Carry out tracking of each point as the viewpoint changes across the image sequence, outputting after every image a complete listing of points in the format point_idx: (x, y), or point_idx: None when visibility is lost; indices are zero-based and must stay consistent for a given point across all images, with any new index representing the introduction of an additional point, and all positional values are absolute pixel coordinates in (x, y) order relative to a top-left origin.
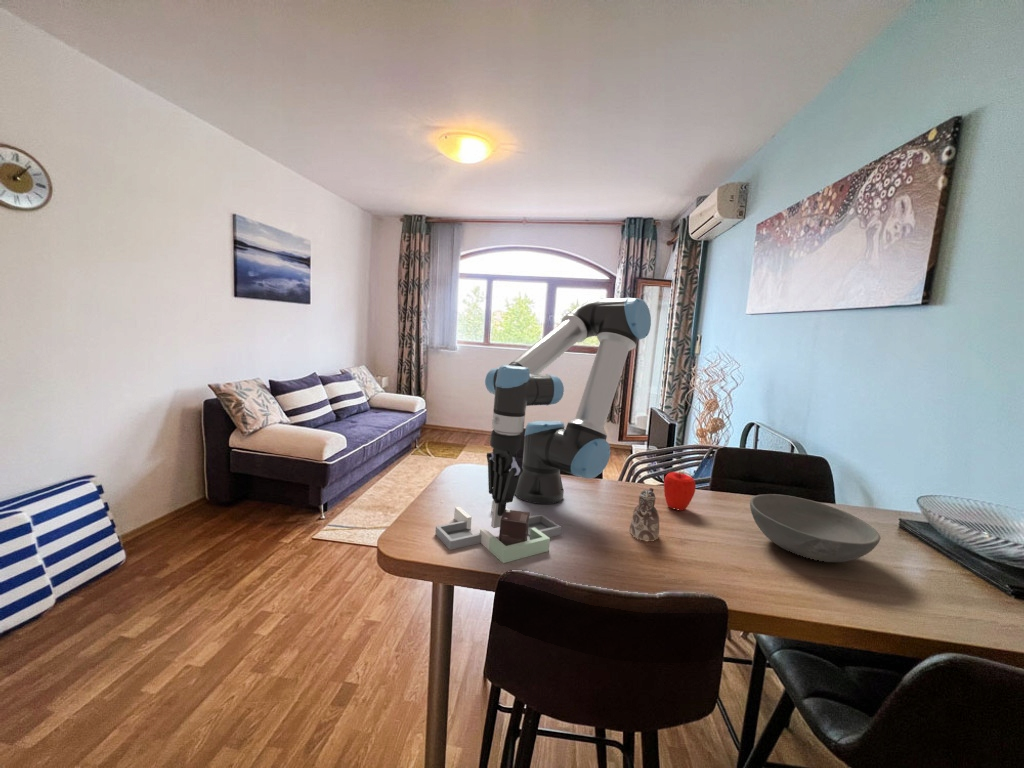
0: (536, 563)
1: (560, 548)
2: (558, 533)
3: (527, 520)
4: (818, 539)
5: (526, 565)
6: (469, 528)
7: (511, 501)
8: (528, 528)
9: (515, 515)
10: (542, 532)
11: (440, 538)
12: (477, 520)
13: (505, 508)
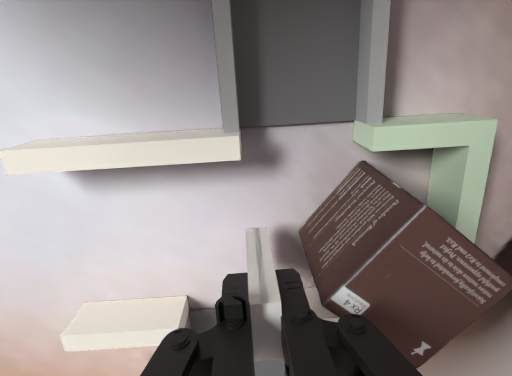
0: (492, 204)
1: (470, 51)
2: None
3: (495, 263)
4: None
5: (481, 238)
6: (187, 301)
7: (368, 325)
8: (270, 91)
9: (418, 294)
10: (382, 84)
11: None
12: (124, 249)
13: (304, 292)
